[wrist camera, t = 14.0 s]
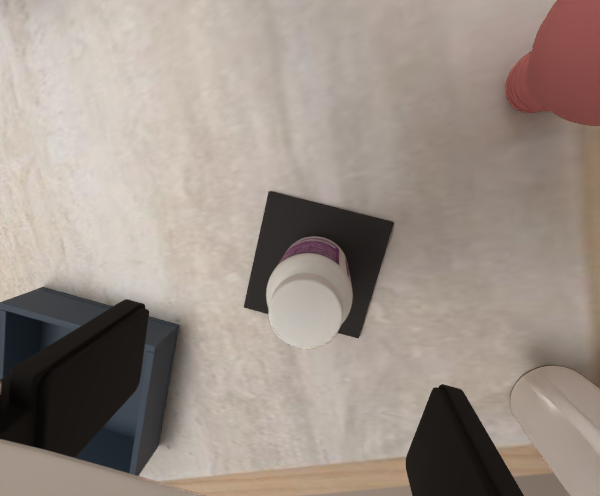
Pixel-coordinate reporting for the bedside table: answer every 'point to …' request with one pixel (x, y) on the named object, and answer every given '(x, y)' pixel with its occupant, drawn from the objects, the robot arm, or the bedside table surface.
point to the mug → (562, 424)
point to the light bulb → (562, 65)
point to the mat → (328, 224)
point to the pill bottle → (309, 293)
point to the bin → (136, 410)
